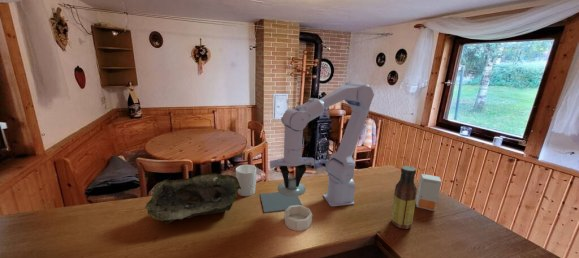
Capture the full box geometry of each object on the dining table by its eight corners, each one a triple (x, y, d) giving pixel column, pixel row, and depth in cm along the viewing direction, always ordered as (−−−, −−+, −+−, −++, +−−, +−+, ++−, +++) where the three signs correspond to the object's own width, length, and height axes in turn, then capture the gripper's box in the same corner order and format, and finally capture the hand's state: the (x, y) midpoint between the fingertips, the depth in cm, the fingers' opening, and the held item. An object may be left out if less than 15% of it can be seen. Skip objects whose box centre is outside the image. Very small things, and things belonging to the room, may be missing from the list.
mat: (294, 191, 95) (294, 190, 95) (303, 208, 84) (303, 207, 84) (260, 194, 92) (260, 193, 92) (264, 212, 81) (264, 211, 81)
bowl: (306, 213, 82) (306, 204, 81) (314, 229, 74) (315, 219, 73) (282, 216, 80) (282, 206, 79) (288, 232, 72) (288, 222, 71)
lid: (300, 181, 84) (301, 171, 83) (309, 194, 76) (309, 184, 75) (275, 184, 82) (275, 174, 81) (281, 198, 73) (281, 186, 72)
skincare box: (416, 207, 87) (422, 178, 84) (415, 201, 91) (420, 173, 88) (435, 211, 85) (442, 181, 82) (433, 205, 89) (439, 176, 86)
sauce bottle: (410, 220, 80) (420, 166, 74) (412, 232, 74) (424, 174, 69) (389, 216, 82) (397, 162, 76) (390, 227, 76) (399, 170, 71)
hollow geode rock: (240, 220, 84) (239, 178, 91) (242, 213, 74) (241, 167, 80) (153, 228, 77) (159, 183, 84) (140, 223, 66) (148, 171, 73)
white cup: (258, 187, 97) (258, 165, 95) (253, 198, 90) (253, 174, 87) (239, 186, 98) (239, 163, 95) (233, 196, 90) (232, 172, 88)
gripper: (310, 142, 81) (308, 178, 84) (268, 144, 77) (267, 182, 81) (318, 149, 74) (315, 188, 78) (272, 152, 70) (271, 192, 74)
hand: (291, 186), depth 79 cm, fingers closed on lid, 3 cm apart
